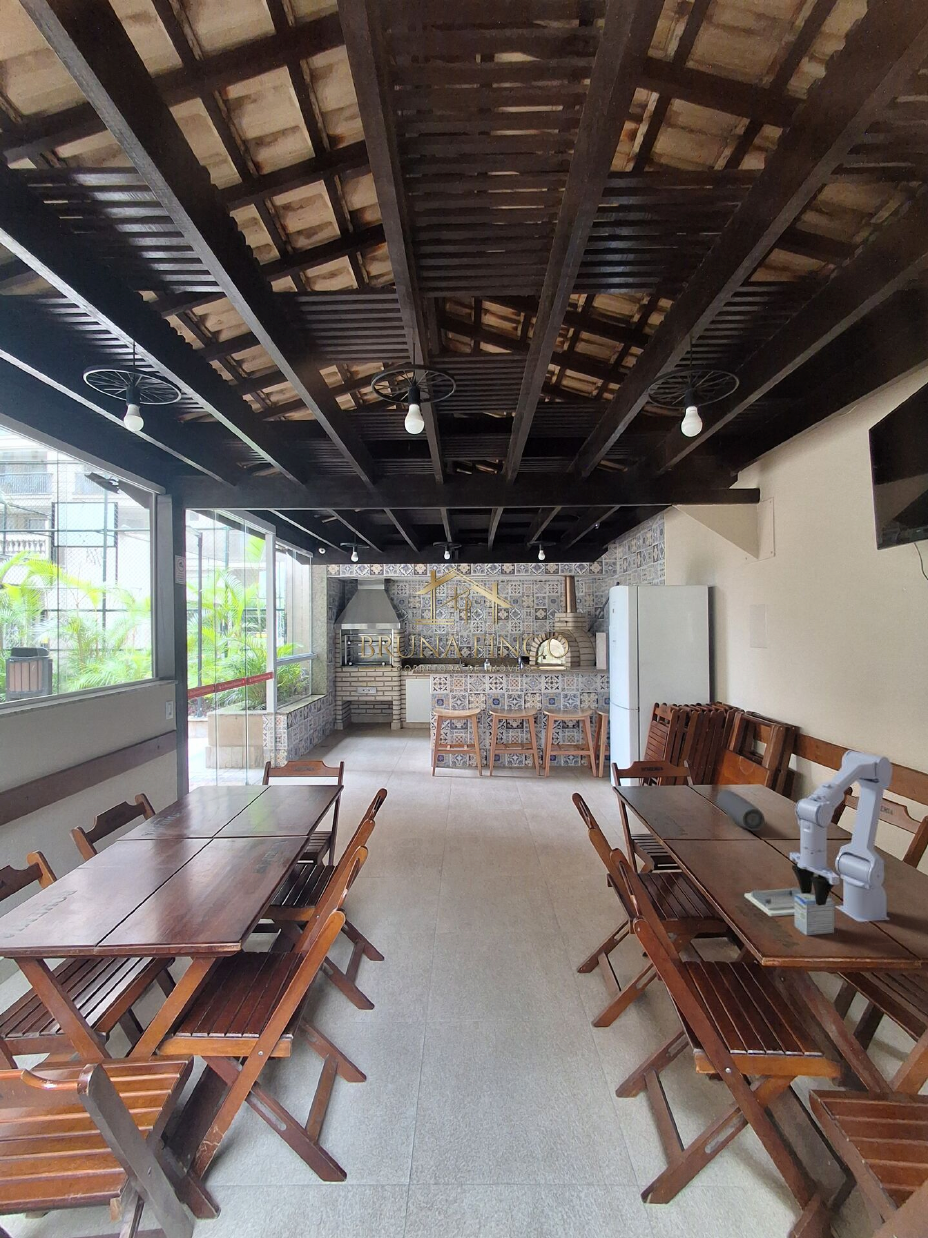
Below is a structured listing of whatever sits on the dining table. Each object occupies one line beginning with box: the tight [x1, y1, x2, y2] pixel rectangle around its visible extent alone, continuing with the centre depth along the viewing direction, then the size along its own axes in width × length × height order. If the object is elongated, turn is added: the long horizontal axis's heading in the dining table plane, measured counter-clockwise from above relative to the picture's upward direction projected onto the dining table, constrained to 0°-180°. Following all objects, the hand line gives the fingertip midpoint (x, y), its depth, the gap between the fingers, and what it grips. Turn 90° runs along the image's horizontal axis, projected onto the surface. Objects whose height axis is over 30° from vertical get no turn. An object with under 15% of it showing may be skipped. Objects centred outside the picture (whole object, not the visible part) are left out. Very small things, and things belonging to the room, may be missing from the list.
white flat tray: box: [744, 886, 802, 917], centre depth 156 cm, size 15×11×3 cm
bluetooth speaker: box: [715, 789, 766, 831], centre depth 218 cm, size 23×9×10 cm, turn 179°
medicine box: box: [794, 892, 835, 936], centre depth 143 cm, size 8×4×9 cm, turn 98°
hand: (813, 899), depth 143 cm, fingers open, 4 cm apart
